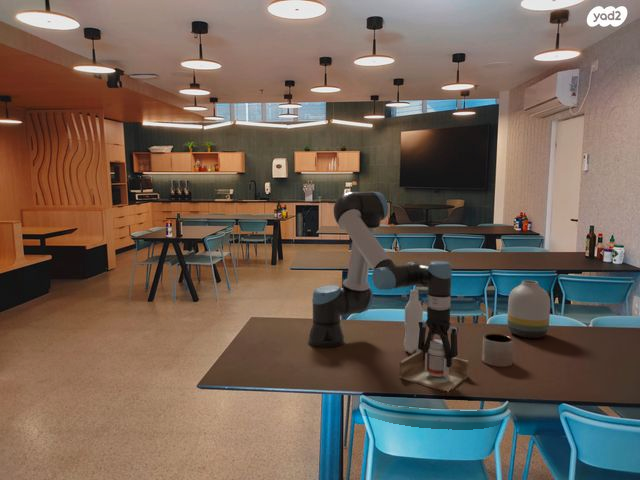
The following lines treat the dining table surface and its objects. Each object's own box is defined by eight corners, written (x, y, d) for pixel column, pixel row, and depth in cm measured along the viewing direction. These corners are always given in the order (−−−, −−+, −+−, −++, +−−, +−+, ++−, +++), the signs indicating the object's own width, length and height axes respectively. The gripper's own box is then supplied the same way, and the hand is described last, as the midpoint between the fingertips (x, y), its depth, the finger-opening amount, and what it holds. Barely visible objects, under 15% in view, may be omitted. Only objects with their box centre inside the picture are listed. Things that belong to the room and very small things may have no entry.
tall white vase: (422, 355, 185) (423, 292, 182) (403, 353, 187) (404, 292, 184) (421, 348, 192) (423, 288, 189) (404, 347, 194) (405, 287, 191)
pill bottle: (432, 368, 167) (433, 337, 165) (449, 373, 163) (450, 341, 161) (424, 373, 162) (425, 342, 161) (441, 378, 158) (442, 346, 157)
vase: (550, 332, 213) (553, 280, 210) (545, 343, 198) (548, 287, 195) (510, 326, 222) (513, 276, 219) (503, 336, 207) (505, 282, 204)
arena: (399, 377, 164) (399, 361, 163) (421, 364, 176) (421, 349, 175) (448, 392, 152) (448, 375, 152) (468, 376, 165) (468, 360, 164)
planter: (498, 370, 171) (499, 344, 170) (475, 360, 180) (476, 335, 179) (519, 364, 176) (520, 339, 175) (496, 355, 185) (497, 331, 184)
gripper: (408, 304, 163) (406, 369, 165) (461, 314, 151) (458, 384, 153) (418, 300, 168) (416, 362, 171) (470, 309, 156) (467, 376, 159)
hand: (436, 372), depth 162 cm, fingers closed on pill bottle, 6 cm apart
